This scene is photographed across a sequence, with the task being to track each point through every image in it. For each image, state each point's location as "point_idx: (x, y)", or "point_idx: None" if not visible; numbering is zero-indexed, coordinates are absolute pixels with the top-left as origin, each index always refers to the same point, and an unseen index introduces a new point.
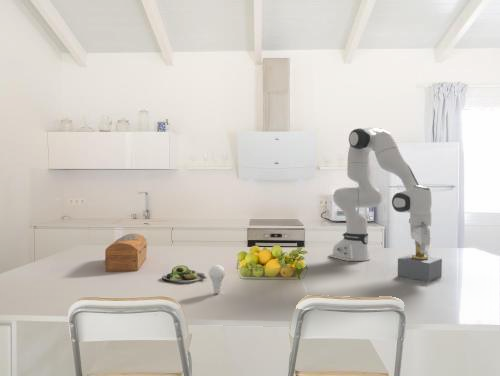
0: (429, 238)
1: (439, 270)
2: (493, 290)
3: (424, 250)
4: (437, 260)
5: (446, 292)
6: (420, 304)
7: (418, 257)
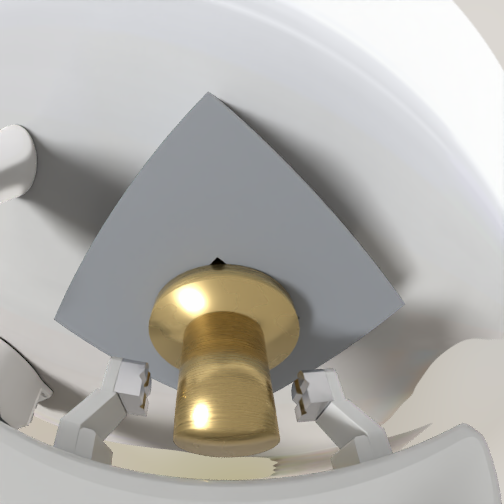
0: (492, 467)
1: (251, 128)
2: (475, 34)
3: (342, 391)
4: (311, 189)
5: (474, 232)
6: (486, 320)
7: (284, 358)
